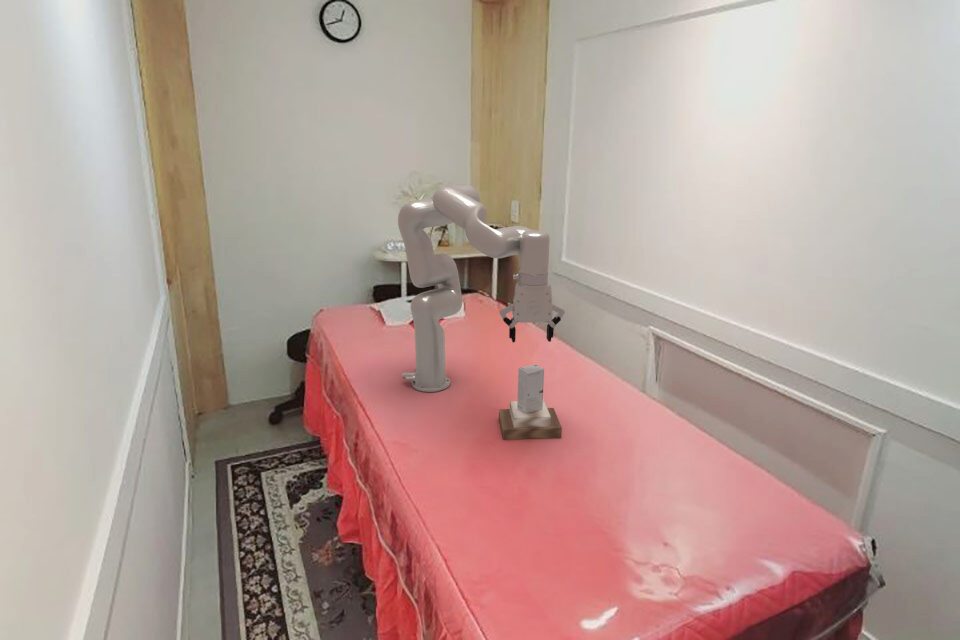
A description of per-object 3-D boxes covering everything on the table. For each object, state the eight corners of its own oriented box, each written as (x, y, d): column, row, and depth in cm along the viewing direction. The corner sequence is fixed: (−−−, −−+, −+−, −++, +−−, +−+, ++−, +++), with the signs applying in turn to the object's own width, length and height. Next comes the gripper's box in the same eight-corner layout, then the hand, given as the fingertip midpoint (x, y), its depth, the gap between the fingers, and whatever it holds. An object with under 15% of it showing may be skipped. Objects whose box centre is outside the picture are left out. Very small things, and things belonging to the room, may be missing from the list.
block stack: (503, 439, 158) (503, 419, 157) (498, 418, 170) (499, 400, 168) (561, 437, 160) (562, 418, 158) (553, 417, 171) (554, 398, 169)
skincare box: (525, 414, 160) (526, 373, 156) (516, 407, 163) (517, 367, 159) (543, 409, 163) (545, 369, 159) (534, 402, 166) (535, 363, 162)
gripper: (501, 282, 147) (500, 346, 153) (569, 282, 148) (565, 344, 154) (498, 275, 154) (497, 336, 160) (563, 274, 155) (560, 335, 161)
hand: (531, 340), depth 157 cm, fingers open, 9 cm apart
